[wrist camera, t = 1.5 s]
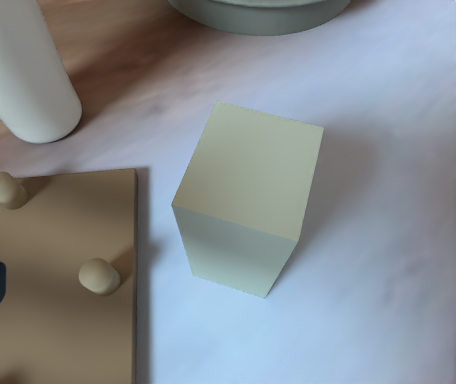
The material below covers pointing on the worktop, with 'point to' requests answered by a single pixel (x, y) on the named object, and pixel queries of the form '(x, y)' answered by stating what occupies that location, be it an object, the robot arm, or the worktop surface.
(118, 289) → the peg stand
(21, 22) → the drinking glass
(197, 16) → the cake pan
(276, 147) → the sage block
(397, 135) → the worktop surface
